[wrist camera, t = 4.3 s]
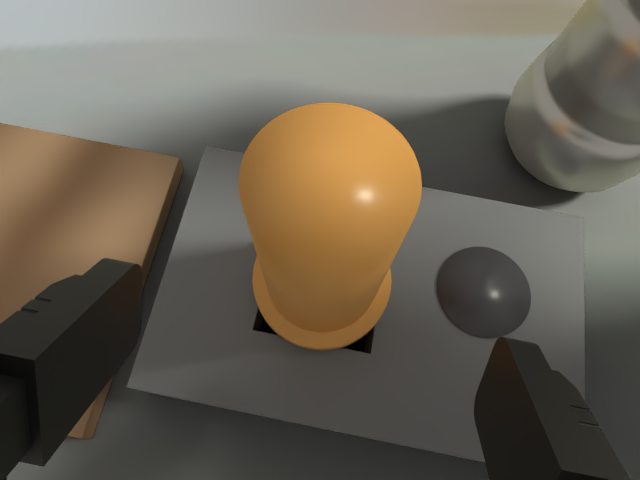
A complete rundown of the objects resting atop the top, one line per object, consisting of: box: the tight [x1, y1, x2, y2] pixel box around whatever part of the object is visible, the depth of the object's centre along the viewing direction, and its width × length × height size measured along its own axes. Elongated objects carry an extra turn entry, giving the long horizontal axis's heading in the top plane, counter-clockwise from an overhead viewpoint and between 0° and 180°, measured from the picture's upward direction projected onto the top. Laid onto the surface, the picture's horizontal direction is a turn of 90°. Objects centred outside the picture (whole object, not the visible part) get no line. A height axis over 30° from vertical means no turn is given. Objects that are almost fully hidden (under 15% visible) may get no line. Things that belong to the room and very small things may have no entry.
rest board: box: [0, 123, 184, 439], centre depth 21 cm, size 9×12×1 cm
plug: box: [238, 103, 422, 351], centre depth 16 cm, size 5×5×11 cm
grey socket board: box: [127, 146, 585, 463], centre depth 19 cm, size 16×10×3 cm, turn 79°
